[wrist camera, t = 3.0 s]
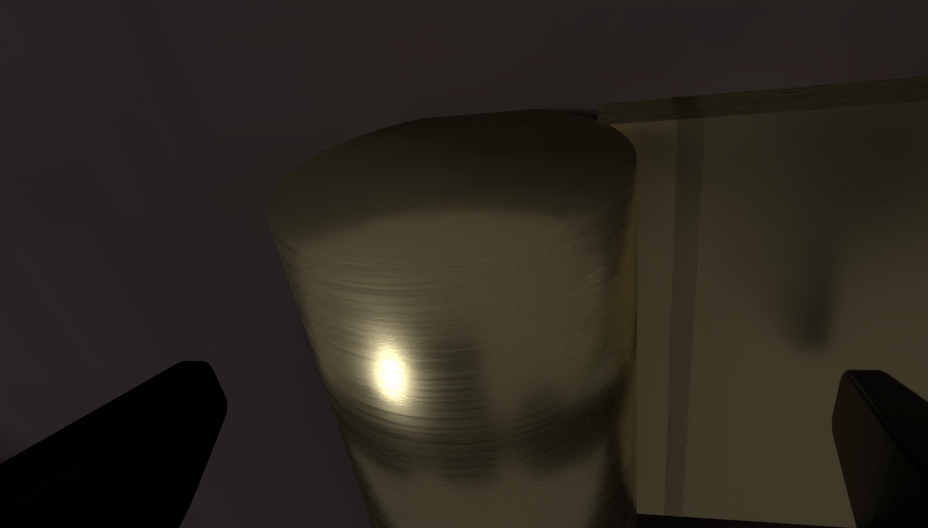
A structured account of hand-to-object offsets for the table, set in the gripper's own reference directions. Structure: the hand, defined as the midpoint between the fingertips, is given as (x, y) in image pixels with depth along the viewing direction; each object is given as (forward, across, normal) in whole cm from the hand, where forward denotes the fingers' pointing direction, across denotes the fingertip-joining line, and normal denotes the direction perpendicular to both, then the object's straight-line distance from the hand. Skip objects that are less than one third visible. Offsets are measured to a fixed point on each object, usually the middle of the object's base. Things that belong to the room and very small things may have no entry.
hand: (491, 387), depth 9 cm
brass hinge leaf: (+2, -4, 0) cm, 5 cm away
